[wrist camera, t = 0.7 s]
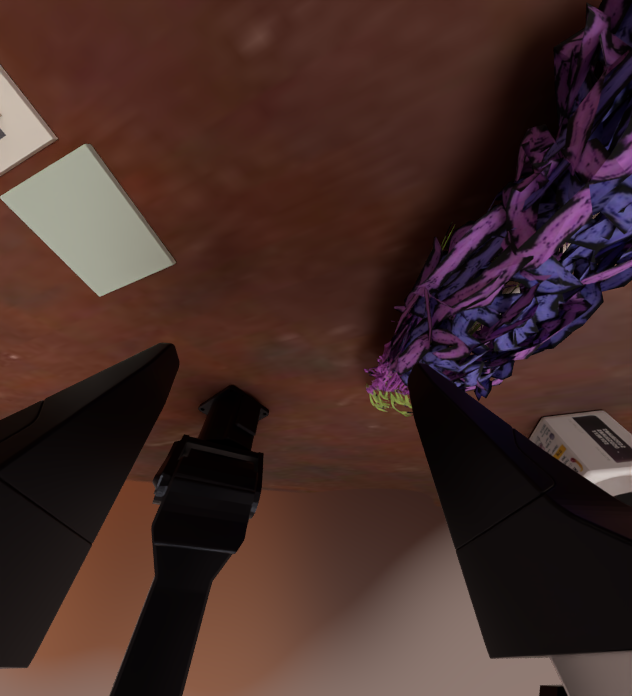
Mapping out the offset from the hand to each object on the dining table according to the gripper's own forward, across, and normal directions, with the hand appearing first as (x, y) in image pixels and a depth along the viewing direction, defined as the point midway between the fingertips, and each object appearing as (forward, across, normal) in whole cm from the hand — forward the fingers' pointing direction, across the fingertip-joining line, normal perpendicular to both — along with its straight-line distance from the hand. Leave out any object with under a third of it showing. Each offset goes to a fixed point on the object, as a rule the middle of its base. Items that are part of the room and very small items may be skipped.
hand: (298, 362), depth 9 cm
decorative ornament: (+14, -14, 0) cm, 19 cm away
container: (+14, -39, +20) cm, 46 cm away
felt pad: (+13, +16, 0) cm, 21 cm away
